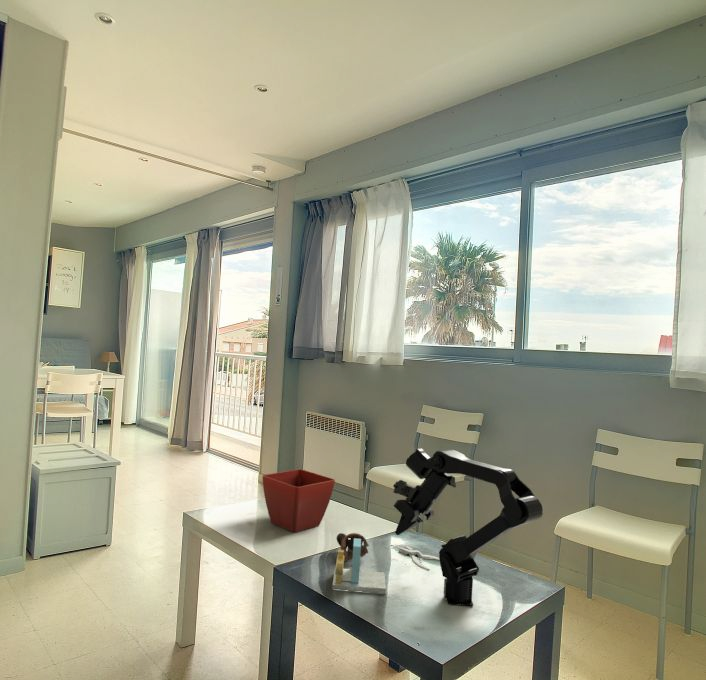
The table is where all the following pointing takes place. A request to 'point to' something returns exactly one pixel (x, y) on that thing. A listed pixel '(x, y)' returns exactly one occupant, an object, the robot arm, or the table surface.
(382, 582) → the block holder base
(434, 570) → the table surface
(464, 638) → the table surface
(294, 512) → the plant pot
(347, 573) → the clip bar
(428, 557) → the pliers
